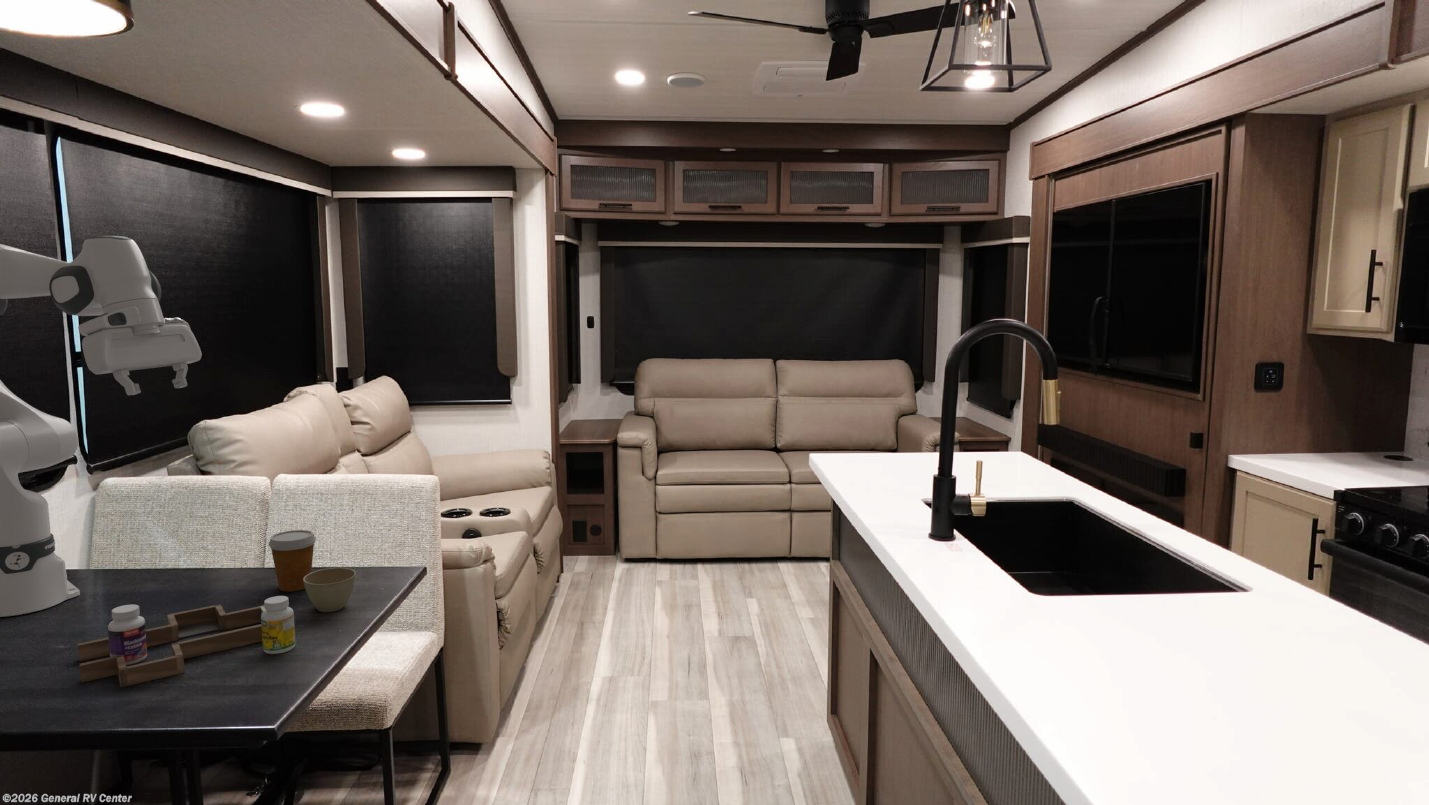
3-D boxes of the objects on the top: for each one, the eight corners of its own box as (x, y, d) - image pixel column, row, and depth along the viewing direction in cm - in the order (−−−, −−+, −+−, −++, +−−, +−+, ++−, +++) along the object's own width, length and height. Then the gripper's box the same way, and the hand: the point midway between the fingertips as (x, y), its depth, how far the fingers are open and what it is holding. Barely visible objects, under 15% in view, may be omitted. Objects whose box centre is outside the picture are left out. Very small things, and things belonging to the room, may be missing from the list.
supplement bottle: (302, 645, 152) (299, 596, 150) (279, 656, 146) (276, 606, 145) (279, 640, 153) (276, 592, 152) (255, 652, 148) (253, 602, 147)
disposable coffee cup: (304, 594, 176) (302, 542, 175) (261, 593, 176) (258, 541, 175) (326, 579, 186) (323, 529, 184) (285, 578, 186) (282, 528, 184)
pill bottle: (128, 668, 141) (123, 615, 140) (102, 665, 142) (98, 612, 141) (155, 655, 146) (151, 604, 145) (130, 652, 147) (126, 601, 146)
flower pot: (293, 612, 167) (292, 579, 166) (332, 596, 176) (331, 565, 175) (329, 620, 163) (328, 586, 162) (367, 603, 172) (366, 571, 171)
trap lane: (77, 648, 148) (76, 632, 148) (259, 610, 167) (259, 596, 167) (82, 696, 131) (81, 679, 130) (285, 648, 150) (285, 632, 150)
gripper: (174, 321, 161) (195, 387, 162) (68, 327, 142) (93, 402, 143) (197, 312, 159) (218, 379, 160) (92, 318, 140) (117, 394, 141)
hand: (158, 390), depth 151 cm, fingers open, 8 cm apart
